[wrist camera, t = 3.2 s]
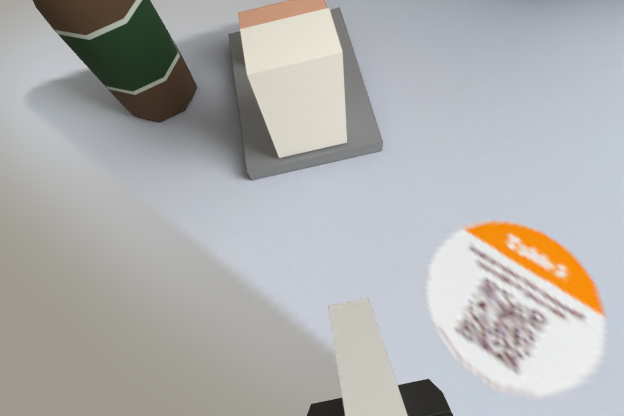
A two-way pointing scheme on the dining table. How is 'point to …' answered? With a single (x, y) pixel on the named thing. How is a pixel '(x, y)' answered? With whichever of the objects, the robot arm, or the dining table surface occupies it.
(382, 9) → the dining table surface
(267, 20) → the peach rectangular block
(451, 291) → the dining table surface
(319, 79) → the cream tall block
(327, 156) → the base
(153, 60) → the beer bottle
